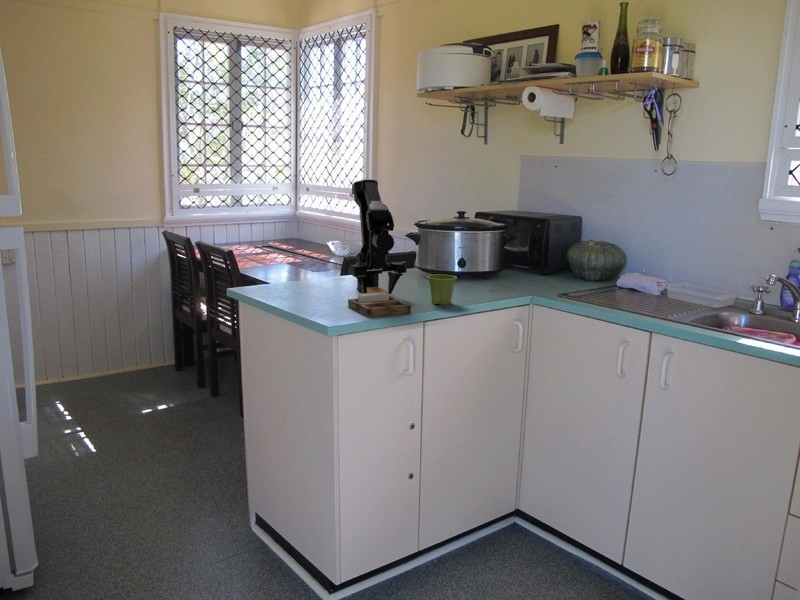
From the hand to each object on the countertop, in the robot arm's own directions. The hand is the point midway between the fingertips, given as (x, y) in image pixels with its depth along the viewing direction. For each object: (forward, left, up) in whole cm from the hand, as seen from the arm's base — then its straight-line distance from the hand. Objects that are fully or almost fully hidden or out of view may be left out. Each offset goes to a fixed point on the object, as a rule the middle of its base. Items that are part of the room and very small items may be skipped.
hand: (377, 295), depth 218 cm
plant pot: (-17, +13, -2) cm, 21 cm away
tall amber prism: (0, 0, -2) cm, 2 cm away
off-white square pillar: (+6, +10, -1) cm, 12 cm away
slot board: (+6, +14, -1) cm, 16 cm away
